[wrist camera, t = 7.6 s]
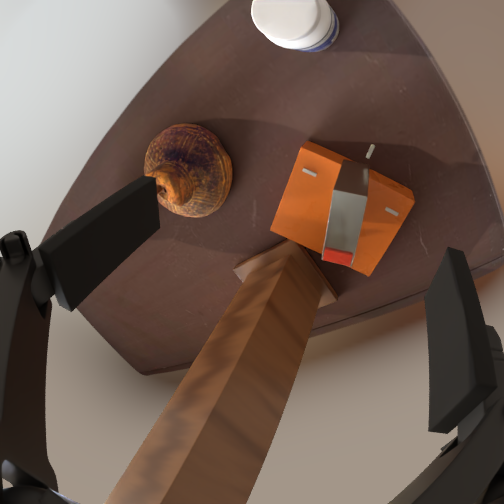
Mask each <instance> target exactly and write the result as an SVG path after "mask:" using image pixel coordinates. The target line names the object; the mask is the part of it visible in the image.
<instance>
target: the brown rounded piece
mask: <svg viewBox="0 0 504 504" xmlns="http://www.w3.org/2000/svg"><path fill="white" fill-rule="evenodd" d="M232 172H233V171H232V164H231V159H230V157H229V155H228V154H227V153H226V152H225V150H224V148H223V146H222V145H221V143H220V141H219V139H218V138H217V136H216V135H214V134H213V133H212V132H211V131H209V130H208V129H206V128H203V127H201V126H199V125H196V124H189V123H182V124H177V125H173V126H171V127H169V128H166V129H165V130H163V131H161V132H160V133H159V134H157V136H156V137H155V138H154V139H153V141H152V142H151V144H150V145H149V147H148V151H147V153H146V158H145V164H144V174H145V176H150V177H155V178H156V185H157V198H158V201H159V202H160V203H161V204H162V205H163V206H164V207H166V208H167V209H168V210H170V211H171V212H174V213H176V214H179V215H183V216H186V217H204V216H206V215H209V214H211V213H213V212H215V211H216V210H218V209H219V208H220V207H221V205H222V204H223V203H224V201H225V200H226V197H227V195H228V193H229V191H230V186H231V183H232Z"/></svg>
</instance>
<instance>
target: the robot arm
mask: <svg viewBox="0 0 504 504" xmlns="http://www.w3.org/2000/svg"><path fill="white" fill-rule="evenodd" d="M159 228H160V221H159V210H158V198H157V185H156V178H155V177H150V176H144V175H143V176H141V177H140V178H138V179H137V180H135V181H133V182H132V183H130V184H129V185H127V186H125V187H124V188H122V189H121V190H119V191H118V192H116V193H114V194H113V195H111V196H110V197H108V198H107V199H105V200H104V201H102V202H101V203H99V204H98V205H96V206H95V207H93V208H92V209H91V210H89V211H88V212H86V213H85V214H83V215H82V216H80V217H79V218H78V219H76V220H74V221H71V222H70V223H69V224H67V225H66V226H64V227H63V229H60V230H59V231H58V232H56V234H54V235H52V236H51V237H50V238H48V239H47V240H46V241H44V242H43V243H42V244H40V245H39V246H38V247H37V248H35V249H34V250H33V251H31V248H30V245H29V242H28V239H27V236H26V233H25V232H24V231H21V230H18V231H13V232H10V233H8V234H6V235H5V236H3V237H2V238H1V239H0V251H1V254H2V256H3V257H0V504H79V503H77V502H75V501H73V500H71V499H69V498H66V497H65V496H63V495H61V494H59V493H58V486H57V480H56V475H55V473H54V470H53V468H52V467H51V465H50V463H49V460H48V456H47V448H46V425H45V424H46V423H45V386H46V363H47V348H48V337H49V326H50V318H51V310H52V302H51V300H50V298H51V297H52V296H53V295H54V294H55V296H56V298H57V301H58V303H59V305H60V306H62V307H63V308H65V309H67V310H69V311H71V312H72V311H73V310H74V309H75V308H76V307H77V306H78V305H79V304H80V303H81V302H82V301H83V300H84V299H85V298H86V297H87V296H88V295H89V294H90V293H91V292H92V291H93V290H94V289H95V288H96V287H97V286H98V285H99V284H100V283H101V282H102V281H103V280H104V279H105V278H106V277H107V276H108V275H110V274H111V273H112V272H113V271H114V270H115V269H116V268H117V267H118V266H119V265H120V264H121V263H122V262H123V261H124V260H125V259H126V258H127V257H129V256H130V255H131V254H132V253H133V252H134V251H135V250H136V249H137V248H138V247H139V246H140V245H142V244H143V243H144V242H145V241H146V240H147V239H148V238H149V237H150V236H152V235H153V234H154V233H155V232H156V231H157V230H158V229H159ZM424 299H425V309H426V319H427V332H428V349H429V387H430V389H429V390H430V392H429V428H428V431H430V432H437V433H445V434H448V433H449V432H450V431H451V430H453V429H454V428H455V427H456V426H457V425H458V436H456V437H455V438H454V439H453V440H451V441H450V442H449V443H448V444H446V445H445V446H444V447H442V448H441V450H442V452H441V453H440V454H439V455H438V456H437V457H436V459H435V460H434V461H433V462H432V463H431V464H430V465H429V466H428V467H427V468H426V469H425V470H424V471H423V472H422V473H421V474H420V475H419V476H418V477H417V478H416V479H415V480H414V481H413V482H412V483H411V484H409V485H408V486H407V487H406V488H405V489H404V490H403V491H402V492H401V493H400V494H398V495H397V496H396V497H395V498H394V499H393V500H392V501H390V502H389V503H388V504H504V353H503V352H502V351H503V348H502V344H501V340H500V337H499V336H498V334H497V332H496V331H495V329H494V327H493V326H489V325H485V321H484V317H483V313H482V310H481V306H480V302H479V299H478V295H477V292H476V288H475V285H474V282H473V279H472V276H471V272H470V269H469V266H468V263H467V261H466V258H465V255H464V252H463V251H460V250H457V249H454V248H450V247H448V248H447V250H446V252H445V255H444V257H443V259H442V262H441V264H440V266H439V268H438V270H437V272H436V275H435V277H434V279H433V281H432V283H431V285H430V287H429V289H428V291H427V293H426V295H425V297H424ZM2 478H3V479H5V480H7V481H9V482H10V483H11V484H12V485H13V487H11V488H6V489H3V484H2Z"/></svg>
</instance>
